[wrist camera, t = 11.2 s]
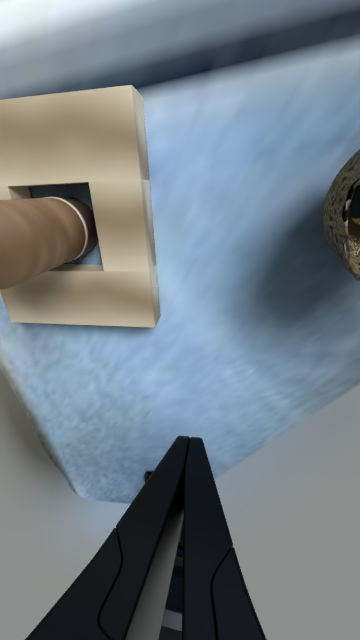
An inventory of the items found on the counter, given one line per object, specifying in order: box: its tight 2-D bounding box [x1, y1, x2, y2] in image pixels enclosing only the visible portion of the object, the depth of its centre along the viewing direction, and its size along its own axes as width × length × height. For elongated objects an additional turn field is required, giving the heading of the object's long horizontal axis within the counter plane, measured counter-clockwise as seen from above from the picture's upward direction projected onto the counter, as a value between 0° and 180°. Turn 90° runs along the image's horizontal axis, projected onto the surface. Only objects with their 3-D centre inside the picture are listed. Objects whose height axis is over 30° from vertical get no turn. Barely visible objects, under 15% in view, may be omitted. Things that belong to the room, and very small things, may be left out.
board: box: [0, 85, 160, 327], centre depth 18 cm, size 14×12×2 cm
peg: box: [0, 197, 98, 290], centre depth 16 cm, size 4×4×8 cm
